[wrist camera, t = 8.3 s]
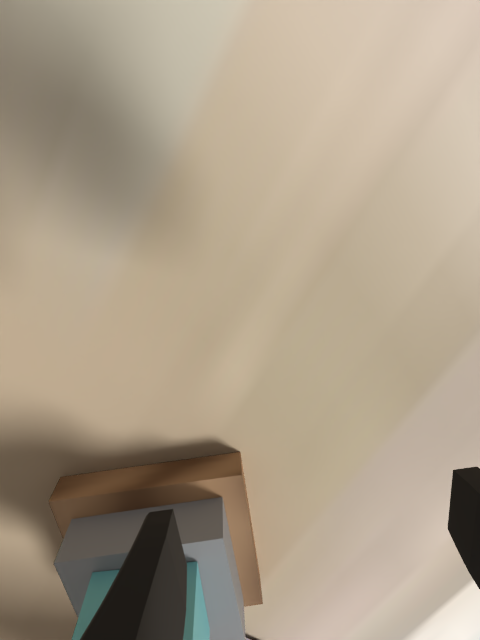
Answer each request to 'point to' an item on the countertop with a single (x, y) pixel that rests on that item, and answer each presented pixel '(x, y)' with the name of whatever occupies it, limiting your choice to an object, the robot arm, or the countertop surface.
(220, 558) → the grey top slab
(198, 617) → the teal block
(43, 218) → the countertop surface
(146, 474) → the walnut base slab
